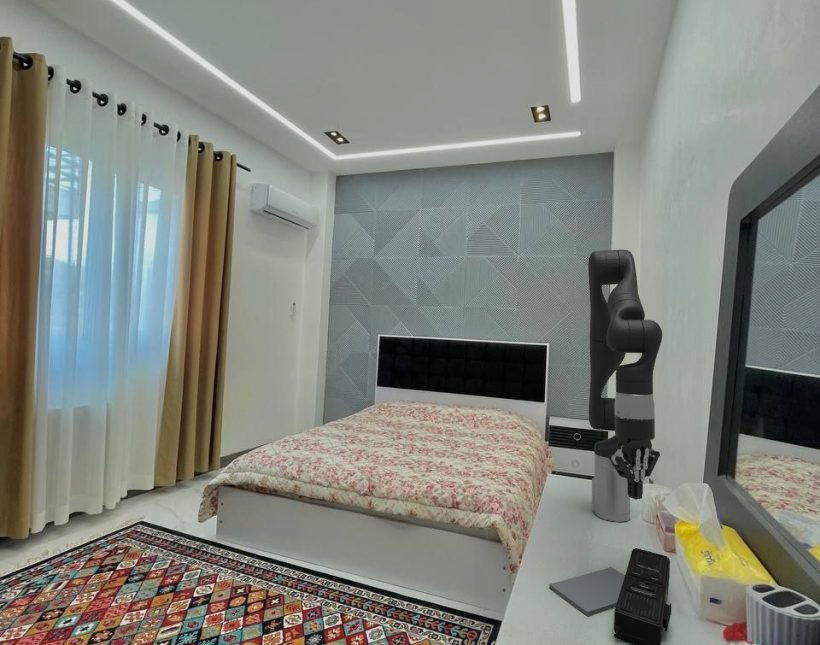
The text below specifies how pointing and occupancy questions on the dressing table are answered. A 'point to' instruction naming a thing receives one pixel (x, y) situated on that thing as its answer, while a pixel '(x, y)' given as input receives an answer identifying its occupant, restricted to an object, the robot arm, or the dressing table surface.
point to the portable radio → (643, 599)
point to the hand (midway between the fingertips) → (635, 498)
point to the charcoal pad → (591, 590)
